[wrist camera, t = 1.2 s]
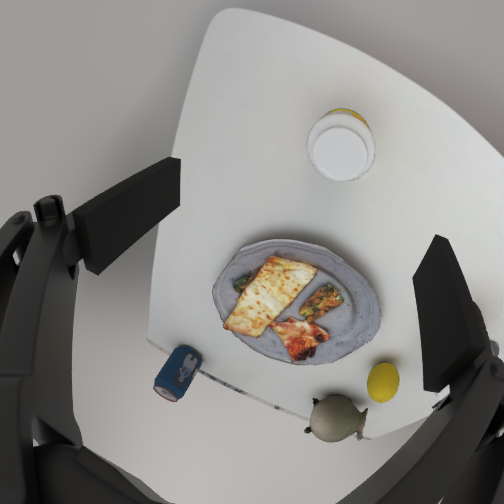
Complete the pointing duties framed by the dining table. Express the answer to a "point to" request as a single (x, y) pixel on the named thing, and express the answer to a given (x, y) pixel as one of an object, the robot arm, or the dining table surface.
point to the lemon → (383, 382)
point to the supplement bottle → (341, 145)
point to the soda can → (177, 373)
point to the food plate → (296, 302)
